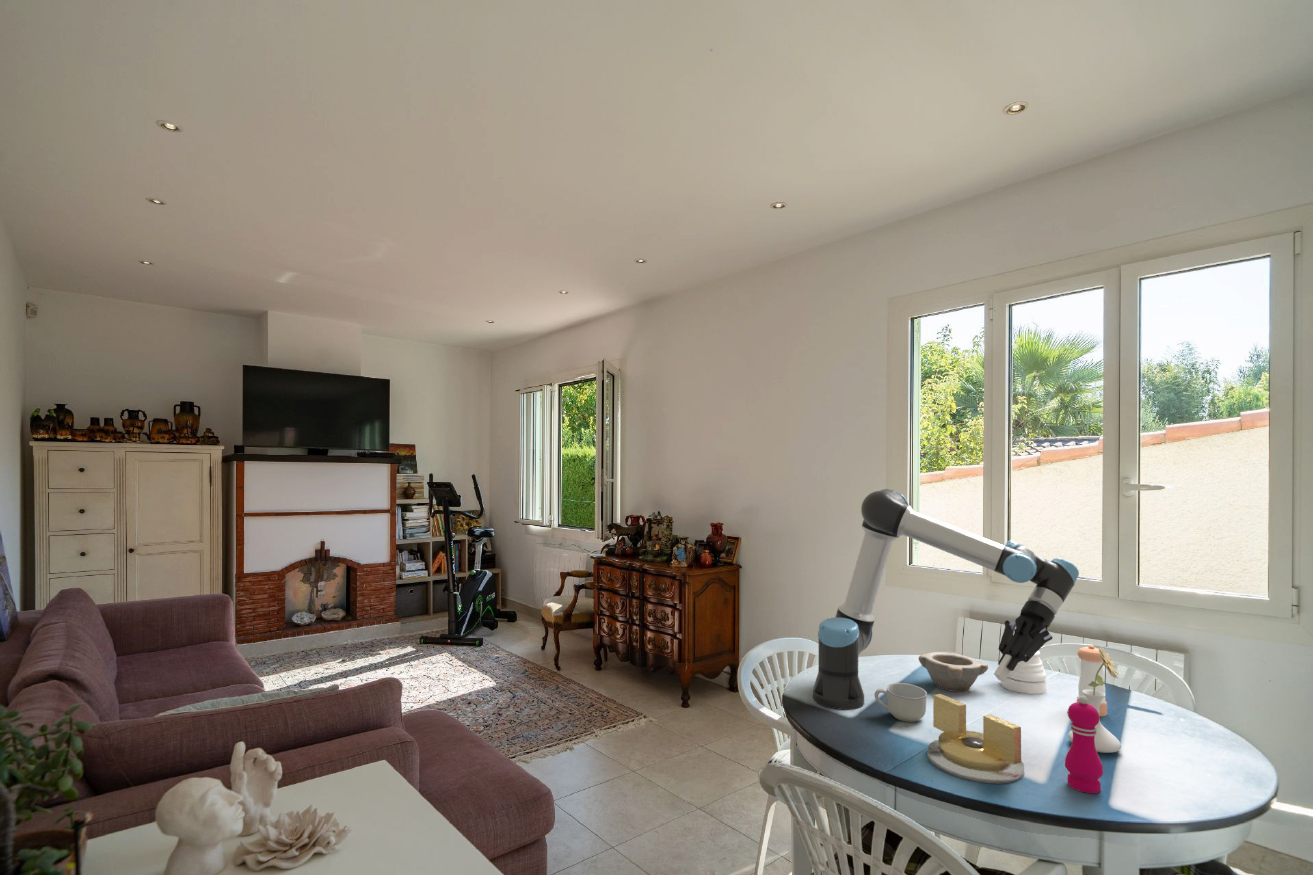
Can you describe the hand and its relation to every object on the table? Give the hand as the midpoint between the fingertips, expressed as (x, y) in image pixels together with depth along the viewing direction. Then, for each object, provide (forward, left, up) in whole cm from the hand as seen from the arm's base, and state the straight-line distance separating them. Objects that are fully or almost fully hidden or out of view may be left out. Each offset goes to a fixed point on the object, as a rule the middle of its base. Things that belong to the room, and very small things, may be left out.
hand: (998, 677), depth 176 cm
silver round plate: (-6, -18, -16) cm, 25 cm away
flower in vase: (+23, +5, -16) cm, 28 cm away
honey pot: (+11, +49, -16) cm, 53 cm away
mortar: (-11, +39, -16) cm, 44 cm away
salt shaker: (+27, +33, -16) cm, 45 cm away
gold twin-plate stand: (-6, -18, -14) cm, 23 cm away
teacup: (-24, +5, -16) cm, 30 cm away
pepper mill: (+16, -21, -16) cm, 30 cm away
